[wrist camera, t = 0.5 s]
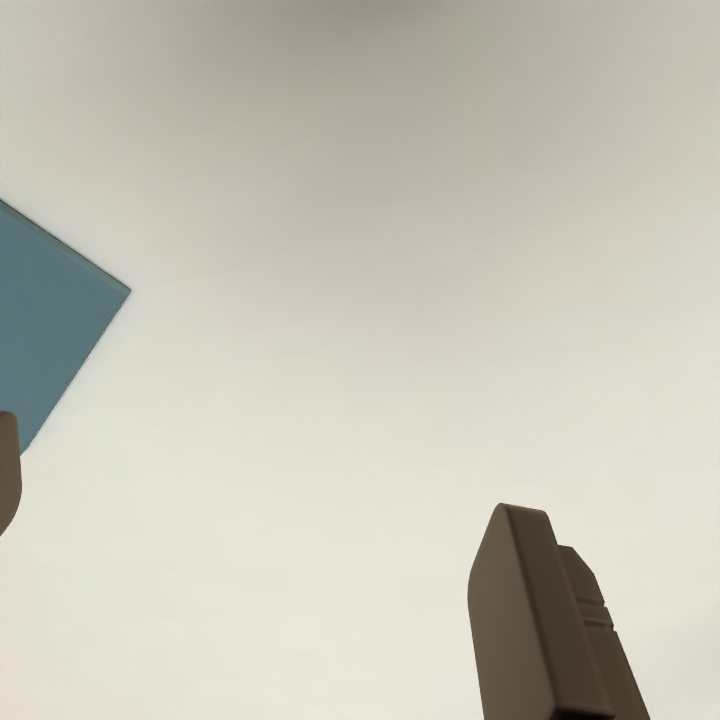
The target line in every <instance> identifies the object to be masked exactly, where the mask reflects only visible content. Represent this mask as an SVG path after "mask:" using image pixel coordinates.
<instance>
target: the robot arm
mask: <svg viewBox="0 0 720 720" xmlns="http://www.w3.org/2000/svg"><path fill="white" fill-rule="evenodd" d="M21 493H22V479H21V465H20V450H19V436H18V423H17V419H16V417H15V415H14V414H13V413H12V412H8V411H3V410H0V536H1V535H2V533H3V532H4V531H5V530H6V528H7V527H8V526H9V524H10V523H11V521H12V519H13V518H14V516H15V514H16V511H17V509H18V506H19V502H20V498H21ZM604 602H605V601H604V599H603V596H602V594H601V591H600V588H599V586H598V583H597V581H596V578H595V576H594V573H593V572H592V571H591V570H590V568H589V567H588V566H587V565H586V563H585V562H584V561H583V560H582V559H581V557H580V556H579V555H578V554H577V552H576V551H575V550H574V549H573V548H572V547H568V546H562V545H558V544H557V541H556V538H555V535H554V532H553V529H552V526H551V524H550V521H549V518H548V515H547V514H546V512H544V511H542V510H537V509H532V508H526V507H521V506H515V505H510V504H504V503H499V504H498V505H497V506H496V507H495V509H494V511H493V514H492V516H491V519H490V521H489V524H488V527H487V529H486V532H485V534H484V537H483V540H482V542H481V545H480V547H479V550H478V553H477V555H476V558H475V560H474V563H473V566H472V569H471V572H470V577H469V583H468V610H469V617H470V624H471V630H472V637H473V644H474V651H475V658H476V665H477V672H478V679H479V686H480V693H481V700H482V707H483V714H484V720H650V717H649V714H648V712H647V709H646V707H645V704H644V702H643V699H642V696H641V694H640V691H639V689H638V686H637V684H636V681H635V678H634V676H633V673H632V671H631V668H630V666H629V663H628V660H627V658H626V655H625V653H624V650H623V648H622V645H621V642H620V640H619V637H618V635H617V632H616V631H614V630H613V626H614V624H613V622H612V619H611V617H610V614H609V612H608V609H607V607H604Z"/></svg>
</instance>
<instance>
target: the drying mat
mask: <svg viewBox="0 0 720 720" xmlns="http://www.w3.org/2000/svg"><path fill="white" fill-rule="evenodd" d="M129 293H130V290H129V289H128V288H126V287H125V286H124V285H122V284H121V283H119V282H118V281H116V280H115V279H113V278H112V277H110V276H109V275H108V274H106V273H105V272H103V271H102V270H100V269H99V268H97V267H96V266H94V265H93V264H92V263H90V262H89V261H87V260H86V259H84V258H83V257H81V256H80V255H79V254H77V253H76V252H74V251H73V250H71V249H70V248H68V247H67V246H65V245H64V244H63V243H61V242H60V241H58V240H57V239H55V238H54V237H52V236H51V235H49V234H48V233H47V232H45V231H44V230H42V229H41V228H39V227H38V226H36V225H35V224H33V223H32V222H31V221H29V220H28V219H26V218H25V217H23V216H22V215H20V214H19V213H18V212H16V211H15V210H13V209H12V208H10V207H9V206H7V205H6V204H4V203H3V202H2V201H0V410H3V411H8V412H12V413H13V414H14V415H15V417H16V419H17V423H18V436H19V450H20V456H21V455H22V453H23V452H24V451H25V450H26V448H27V447H28V445H29V444H30V442H31V441H32V439H33V438H34V436H35V435H36V433H37V432H38V430H39V429H40V427H41V426H42V424H43V423H44V421H45V420H46V418H47V417H48V415H49V414H50V412H51V411H52V409H53V408H54V406H55V405H56V403H57V402H58V400H59V399H60V397H61V396H62V394H63V393H64V391H65V390H66V388H67V387H68V385H69V384H70V382H71V381H72V379H73V378H74V376H75V374H76V373H77V371H78V370H79V368H80V367H81V365H82V364H83V362H84V361H85V359H86V358H87V356H88V355H89V353H90V352H91V350H92V349H93V347H94V346H95V344H96V343H97V341H98V340H99V338H100V337H101V335H102V334H103V332H104V331H105V329H106V328H107V326H108V325H109V323H110V322H111V320H112V319H113V317H114V316H115V314H116V313H117V311H118V310H119V308H120V307H121V305H122V304H123V302H124V301H125V299H126V298H127V296H128V294H129Z"/></svg>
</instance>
